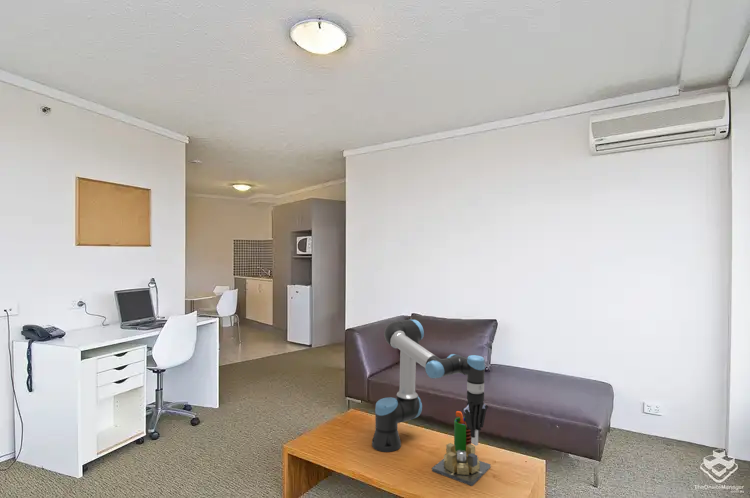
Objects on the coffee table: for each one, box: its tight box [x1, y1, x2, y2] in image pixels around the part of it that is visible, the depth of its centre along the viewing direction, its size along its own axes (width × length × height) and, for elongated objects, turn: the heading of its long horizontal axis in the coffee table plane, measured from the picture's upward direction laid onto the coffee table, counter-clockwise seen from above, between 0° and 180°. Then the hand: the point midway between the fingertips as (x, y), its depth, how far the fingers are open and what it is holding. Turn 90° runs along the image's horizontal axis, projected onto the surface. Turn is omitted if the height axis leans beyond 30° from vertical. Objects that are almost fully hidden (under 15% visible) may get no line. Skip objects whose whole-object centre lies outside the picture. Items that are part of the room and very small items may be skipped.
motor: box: [453, 410, 472, 451], centre depth 209 cm, size 10×9×20 cm
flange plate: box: [431, 450, 492, 487], centre depth 192 cm, size 20×20×8 cm
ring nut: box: [443, 442, 480, 475], centre depth 192 cm, size 16×16×7 cm
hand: (474, 443), depth 184 cm, fingers closed
